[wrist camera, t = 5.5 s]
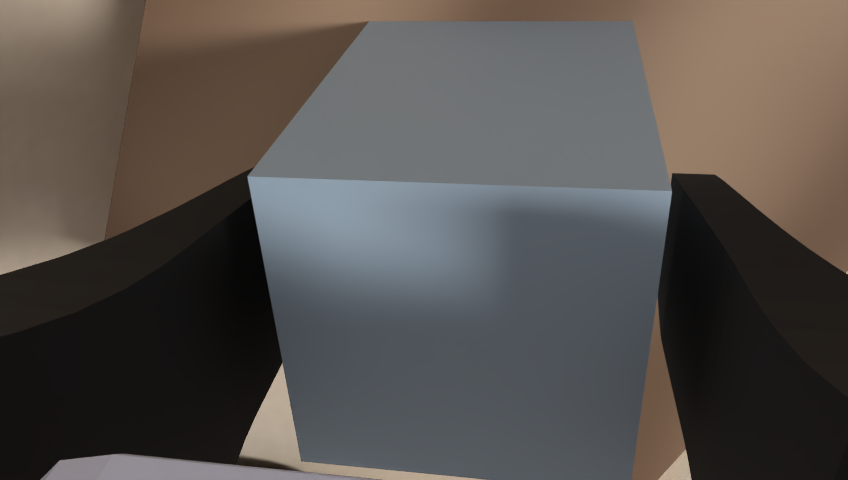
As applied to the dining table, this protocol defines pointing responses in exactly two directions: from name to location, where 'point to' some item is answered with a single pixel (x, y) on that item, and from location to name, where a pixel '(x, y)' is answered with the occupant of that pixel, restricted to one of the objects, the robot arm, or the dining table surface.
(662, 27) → the walnut base
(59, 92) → the dining table surface
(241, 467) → the robot arm
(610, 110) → the slate block
